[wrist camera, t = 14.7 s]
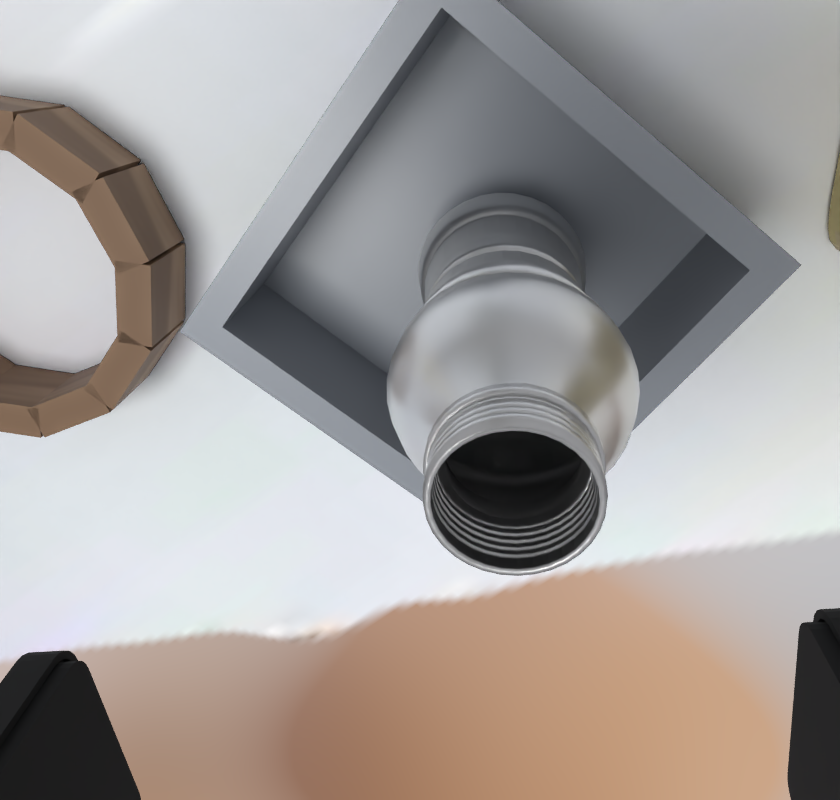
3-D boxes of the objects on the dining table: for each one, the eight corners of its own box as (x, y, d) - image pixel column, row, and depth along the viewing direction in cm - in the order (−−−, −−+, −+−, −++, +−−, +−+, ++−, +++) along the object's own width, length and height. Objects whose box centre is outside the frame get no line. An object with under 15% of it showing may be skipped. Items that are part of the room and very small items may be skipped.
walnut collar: (-43, 24, 33) (-110, 21, 29) (241, 234, 35) (213, 255, 32) (-155, 283, 38) (-223, 307, 34) (100, 449, 41) (61, 488, 37)
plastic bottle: (432, 172, 33) (358, 329, 14) (594, 193, 32) (726, 379, 14) (415, 318, 35) (334, 607, 17) (564, 339, 35) (644, 652, 17)
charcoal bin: (446, -33, 30) (434, -54, 24) (742, 223, 33) (801, 264, 27) (234, 282, 36) (179, 331, 30) (501, 475, 39) (503, 557, 33)
